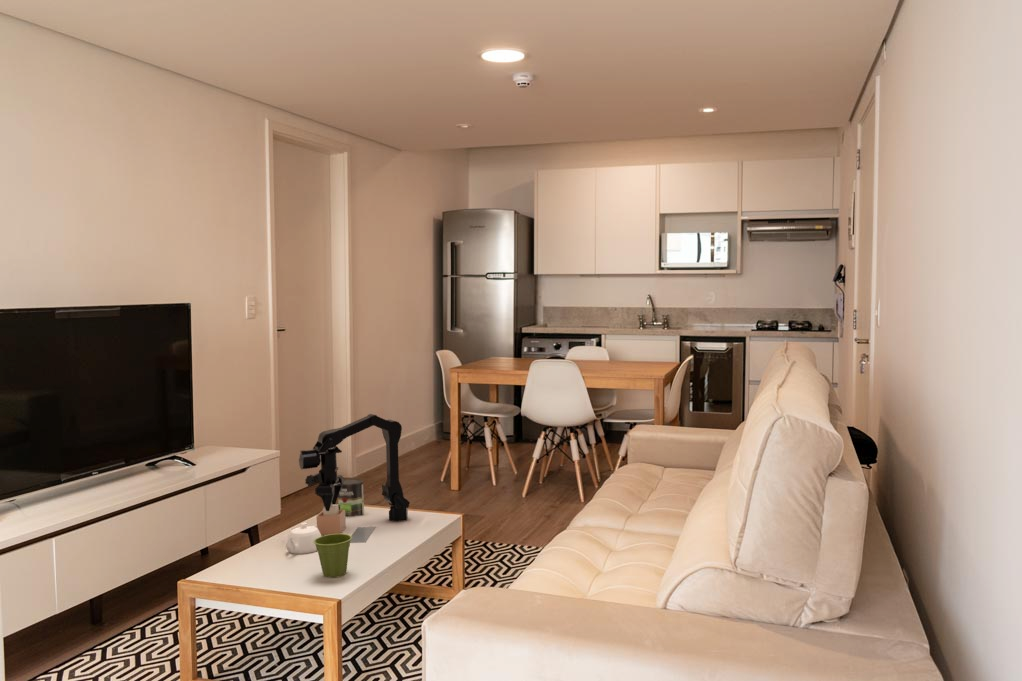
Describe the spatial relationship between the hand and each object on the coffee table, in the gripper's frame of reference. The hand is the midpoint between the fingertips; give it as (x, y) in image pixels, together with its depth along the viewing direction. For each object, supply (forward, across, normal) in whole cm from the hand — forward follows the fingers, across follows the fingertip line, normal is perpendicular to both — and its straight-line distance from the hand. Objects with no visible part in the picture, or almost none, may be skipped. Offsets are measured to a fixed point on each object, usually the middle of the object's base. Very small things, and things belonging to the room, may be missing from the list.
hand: (330, 507), depth 295 cm
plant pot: (+10, +44, +12) cm, 47 cm away
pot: (+10, 0, 0) cm, 10 cm away
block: (+4, 0, 0) cm, 4 cm away
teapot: (+10, +21, -4) cm, 24 cm away
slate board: (+10, +6, +12) cm, 17 cm away
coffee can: (+10, -25, +2) cm, 27 cm away
